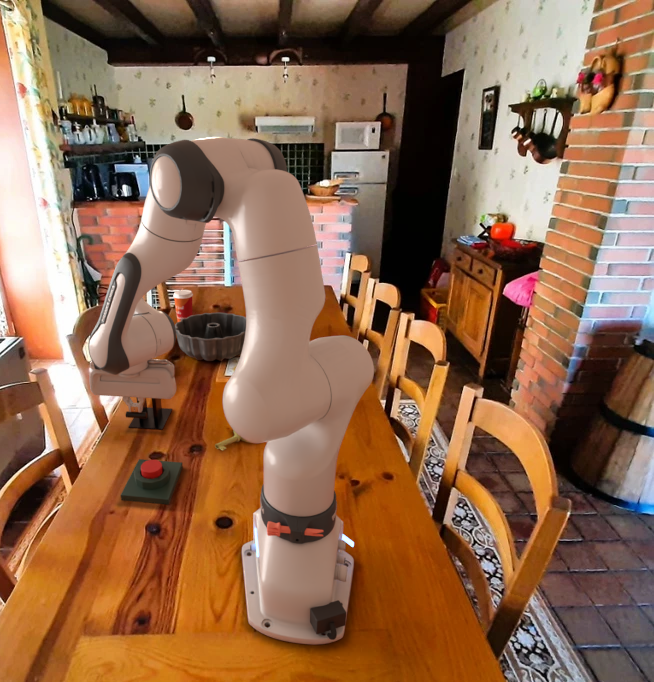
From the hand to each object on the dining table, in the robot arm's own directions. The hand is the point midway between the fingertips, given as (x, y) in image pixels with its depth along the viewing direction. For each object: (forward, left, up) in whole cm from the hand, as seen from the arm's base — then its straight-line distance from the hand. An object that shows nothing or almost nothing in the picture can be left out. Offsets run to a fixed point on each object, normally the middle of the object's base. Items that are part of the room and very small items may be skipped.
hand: (136, 411), depth 115 cm
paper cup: (+79, +7, -9) cm, 80 cm away
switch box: (-16, -8, -9) cm, 20 cm away
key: (+3, -24, -9) cm, 25 cm away
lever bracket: (+9, 0, -9) cm, 13 cm away
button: (-16, -8, -5) cm, 18 cm away
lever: (+5, 0, -1) cm, 5 cm away
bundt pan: (+55, -9, -9) cm, 57 cm away
